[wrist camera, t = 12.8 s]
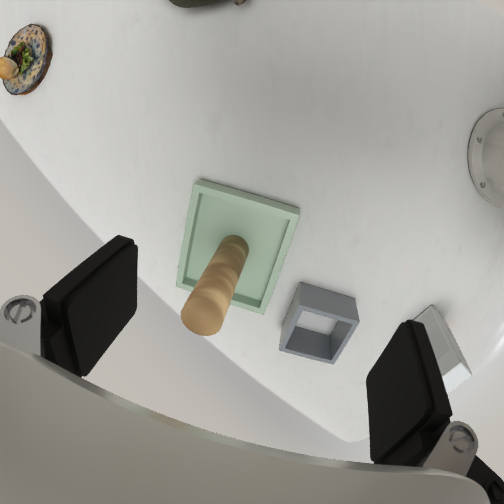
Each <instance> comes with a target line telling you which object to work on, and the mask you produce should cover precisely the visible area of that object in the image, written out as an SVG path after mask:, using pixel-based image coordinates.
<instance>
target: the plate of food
mask: <svg viewBox="0 0 504 504" xmlns="http://www.w3.org/2000/svg"><path fill="white" fill-rule="evenodd" d="M47 40H48V38H47V36H46V35H45V33H44V30H43V29H42V28H41V27H40V26H39V25H35V24H29V25H28V26H26V27H24V28H22V29H20V30H19V31H18V32H17V33H16V34H15V35H14V36H13V38H12V39H11V41H10V42H9V45H8V48H7V50H6V51H5V55H4V57H1V58H0V78H2V79H3V84H4V86H5V88H6V89H7V91H8V92H9V93H10V94H11V95H25V94H28V93H30V92H32V91H33V90H34V89H36V88H37V86H38V85H39V84H40V83H41V81H42V80H43V79H44V77H45V75H46V73H47V71H48V68H49V66H50V60H51V58H52V52H51V51H50V50H48V41H47Z"/></svg>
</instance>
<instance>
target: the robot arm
mask: <svg viewBox="0 0 504 504" xmlns="http://www.w3.org/2000/svg"><path fill="white" fill-rule="evenodd" d="M468 161H469V169H470V174H471V177H472V180H473V182H474V185H475V187H476V188H477V190H478V192H479V193H480V194H481V195H482V196H483V198H485V199H486V200H487V201H489V202H490V203H492V204H494V205H495V206H498V207H502V208H504V109H494V110H492V111H489V112H488V113H486V114H485V115H483V116H482V118H481V119H480V120H479V121H478V122H477V124H476V126H475V128H474V130H473V132H472V135H471V138H470V143H469V151H468ZM480 183H481V184H480ZM137 261H138V247H137V245H135V244H134V240H133V239H130V238H127V237H124V236H121V235H117V236H116V237H114V238H113V239H112V240H110V241H109V242H108V243H106V244H105V245H104V246H103V247H101V248H100V249H99V250H97V251H96V252H95V253H94V254H92V255H91V256H90V257H88V258H87V259H86V260H85V261H83V262H82V263H81V264H80V265H78V266H77V267H76V268H75V269H73V270H72V271H71V272H70V273H69V274H67V275H66V276H65V277H64V278H63V279H61V280H60V281H59V282H58V283H57V284H55V285H54V286H53V287H52V288H51V289H50V290H48V291H47V292H46V293H45V294H44V295H43V298H44V299H42V300H41V301H40V302H38V300H37V299H35V298H34V297H31V296H28V295H20V296H15V297H13V298H11V299H9V300H8V301H6V302H5V303H4V304H3V306H2V307H1V310H0V504H504V482H503V480H502V479H501V478H500V477H499V476H498V475H497V474H496V473H495V472H494V471H492V470H491V469H490V468H489V467H488V466H487V465H486V464H485V463H484V462H483V461H482V460H481V459H480V458H478V457H477V456H476V452H477V449H478V439H477V436H476V434H475V433H474V431H473V429H472V428H471V427H470V426H469V425H467V424H465V423H464V422H460V421H454V422H450V417H451V416H452V410H451V406H450V403H449V399H448V395H447V392H446V389H445V385H444V382H443V379H442V375H441V372H440V369H439V366H438V363H437V360H436V357H435V354H434V351H433V348H432V345H431V342H430V339H429V337H428V334H427V331H426V328H425V326H424V324H423V323H421V322H417V321H414V320H410V319H409V320H407V321H406V322H402V323H401V324H400V325H399V327H398V329H397V330H396V332H395V333H394V335H393V337H392V338H391V340H390V342H389V343H388V345H387V346H386V348H385V349H384V351H383V353H382V354H381V356H380V357H379V359H378V360H377V362H376V363H375V365H374V366H373V368H372V369H371V371H370V372H369V374H368V376H367V379H366V387H367V399H368V414H369V432H370V458H371V460H372V461H374V464H369V463H360V462H351V461H343V460H335V459H328V458H322V457H315V456H309V455H304V454H299V453H293V452H288V451H284V450H279V449H274V448H270V447H266V446H261V445H257V444H253V443H249V442H245V441H242V440H237V439H234V438H231V437H227V436H223V435H221V434H217V433H214V432H211V431H207V430H205V429H201V428H198V427H195V426H192V425H190V424H186V423H184V422H181V421H178V420H176V419H173V418H170V417H167V416H165V415H162V414H159V413H157V412H154V411H152V410H150V409H147V408H145V407H142V406H140V405H138V404H135V403H133V402H131V401H128V400H126V399H124V398H122V397H119V396H117V395H115V394H113V393H111V392H109V391H107V390H105V389H102V388H100V387H98V386H96V385H94V384H92V383H90V382H88V381H86V380H84V379H82V378H81V377H82V376H87V375H88V374H89V373H90V371H91V370H92V369H93V367H94V366H95V364H96V363H97V361H99V359H100V358H101V357H102V355H103V354H104V353H105V351H106V350H107V348H108V347H109V346H110V345H111V343H112V342H113V341H114V340H115V338H116V337H117V336H118V334H119V333H120V332H121V331H122V329H123V328H124V327H125V325H126V324H127V323H128V322H129V320H130V319H131V318H132V317H133V315H134V314H135V311H136V309H137Z"/></svg>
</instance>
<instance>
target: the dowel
mask: <svg viewBox="0 0 504 504" xmlns="http://www.w3.org/2000/svg"><path fill="white" fill-rule="evenodd" d="M248 254H249V246H248V244H247V242H246V241H245V240H244V239H243V238H242V237H240V236H236V235H230V236H227V237H225V238H224V239H223V240H222V241H221V243H220V245H219V246H218V248H217V250H216V252H215V253H214V255H213V257H212V258H211V260H210V262H209V263H208V265H207V267H206V268H205V270H204V272H203V274H202V275H201V277H200V279H199V280H198V282H197V284H196V286H195V287H194V289H193V291H192V293H191V294H190V296H189V298H188V300H187V301H186V303H185V305H184V307H183V308H182V310H181V319H182V321H183V323H184V325H185V326H186V327H187V328H188V329H189V330H190V331H192V332H194V333H196V334H198V335H202V336H210V335H214V334H216V333H217V332H218V331H219V330H220V329H221V326H222V324H223V321H224V318H225V316H226V313H227V310H228V307H229V305H230V302H231V299H232V297H233V294H234V291H235V289H236V286H237V283H238V280H239V278H240V275H241V272H242V270H243V267H244V264H245V262H246V259H247V256H248Z"/></svg>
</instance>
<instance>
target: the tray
mask: <svg viewBox="0 0 504 504" xmlns="http://www.w3.org/2000/svg"><path fill="white" fill-rule="evenodd" d="M299 216H300V209H299V208H296V207H293V206H290V205H287V204H283V203H280V202H277V201H274V200H270V199H267V198H264V197H261V196H257V195H254V194H251V193H247V192H244V191H241V190H237V189H234V188H230V187H227V186H223V185H220V184H216V183H213V182H209V181H205V180H202V179H200V180H199V181H197V182H196V183H195V184H194V186H193V191H192V196H191V201H190V206H189V211H188V216H187V222H186V227H185V233H184V238H183V244H182V250H181V256H180V262H179V268H178V274H177V281H176V287H179V288H182V289H185V290H188V291H191V292H192V291H193V289H194V287H195V286H196V284H197V282H198V280H199V279H200V277H201V275H202V274H203V272H204V270H205V268H206V267H207V265H208V263H209V262H210V260H211V258H212V257H213V255H214V253H215V252H216V250H217V248H218V246H219V245H220V243H221V241H222V240H223V239H224V238H225V237H227V236H230V235H236V236H240V237H242V238H243V239H244V240H245V241H246V242H247V244H248V246H249V254H248V256H247V259H246V262H245V264H244V267H243V270H242V272H241V275H240V278H239V280H238V283H237V286H236V289H235V291H234V294H233V297H232V299H231V302H230V305H234V306H237V307H240V308H243V309H246V310H250V311H253V312H256V313H259V314H263V315H264V313H265V311H266V308H267V305H268V303H269V300H270V297H271V294H272V292H273V289H274V286H275V283H276V281H277V278H278V275H279V272H280V270H281V267H282V264H283V261H284V258H285V256H286V253H287V250H288V247H289V244H290V241H291V239H292V236H293V233H294V230H295V227H296V224H297V221H298V218H299Z"/></svg>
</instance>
